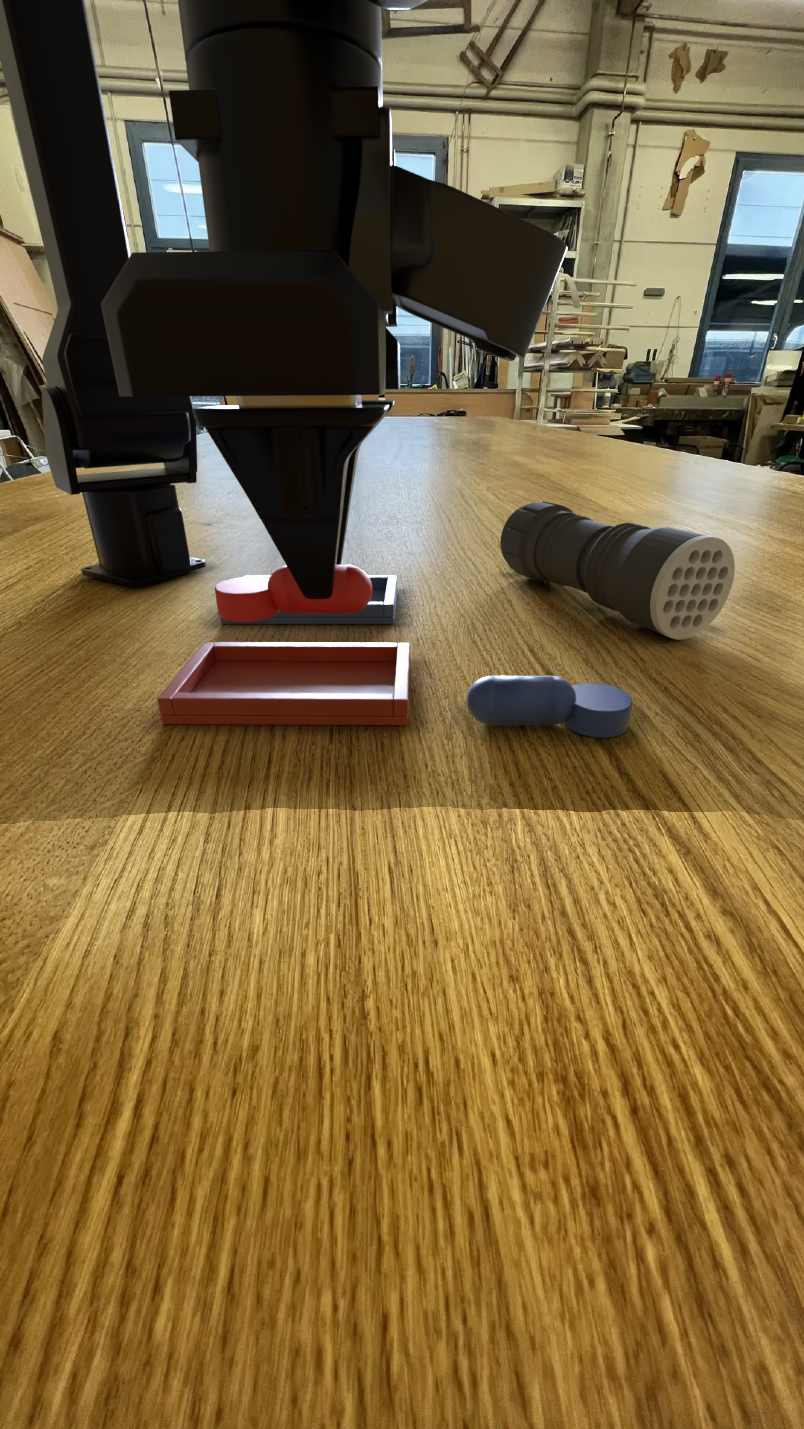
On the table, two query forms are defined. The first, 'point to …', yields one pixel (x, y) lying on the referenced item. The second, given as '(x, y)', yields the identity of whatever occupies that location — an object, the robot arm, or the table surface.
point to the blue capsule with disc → (550, 704)
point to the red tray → (291, 684)
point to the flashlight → (624, 566)
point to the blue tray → (373, 613)
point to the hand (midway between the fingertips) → (322, 589)
